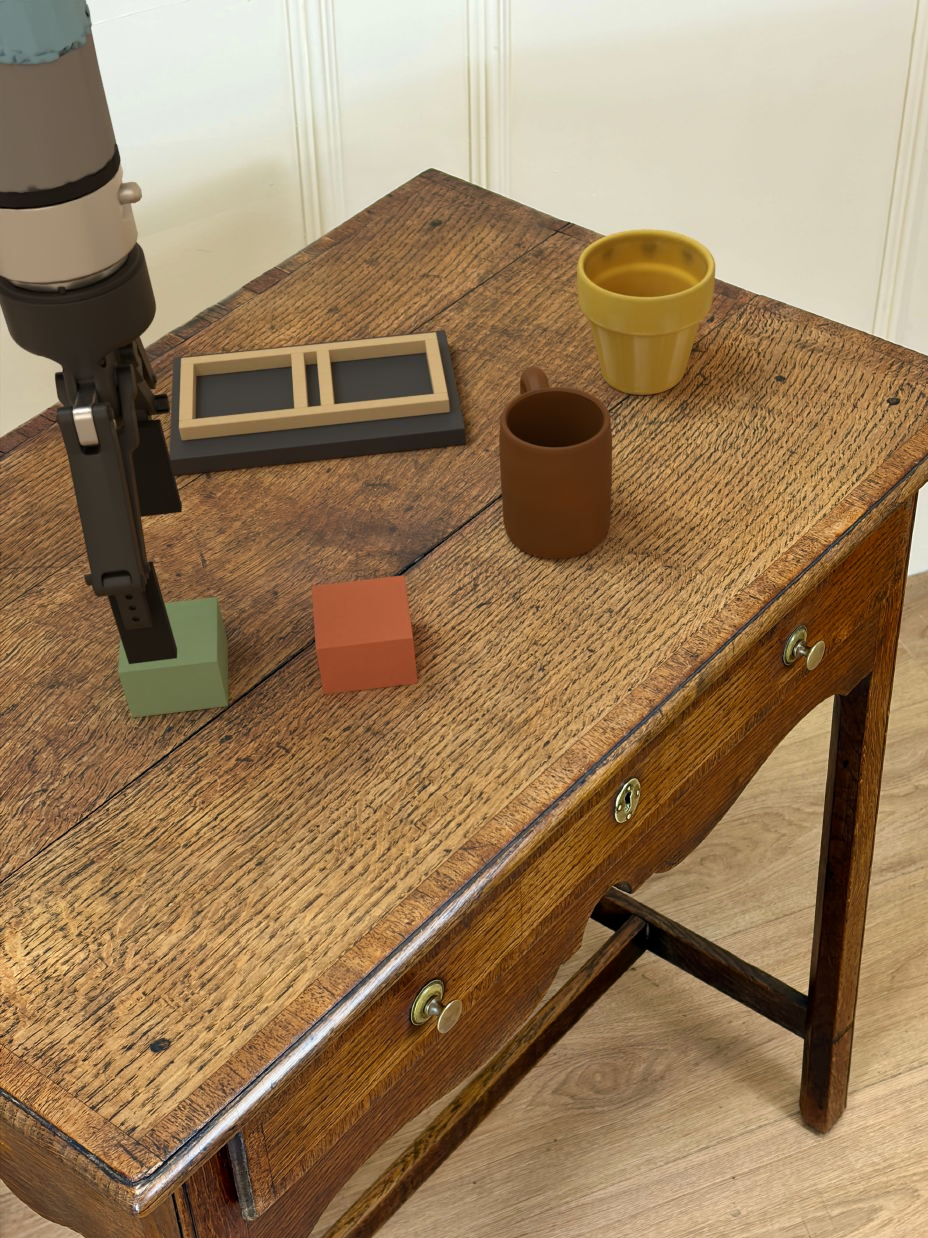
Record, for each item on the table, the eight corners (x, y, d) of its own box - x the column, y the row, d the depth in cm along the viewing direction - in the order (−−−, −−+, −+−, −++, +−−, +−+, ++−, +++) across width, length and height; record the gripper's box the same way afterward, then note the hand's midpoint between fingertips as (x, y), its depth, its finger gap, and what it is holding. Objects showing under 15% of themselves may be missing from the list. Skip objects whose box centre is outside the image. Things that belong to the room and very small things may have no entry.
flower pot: (645, 426, 113) (649, 313, 106) (550, 374, 118) (548, 262, 111) (734, 372, 118) (744, 260, 111) (640, 324, 123) (643, 214, 116)
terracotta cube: (323, 695, 94) (315, 649, 91) (319, 631, 98) (311, 585, 95) (418, 683, 94) (413, 637, 91) (409, 620, 98) (404, 574, 95)
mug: (481, 469, 110) (474, 359, 103) (581, 453, 111) (580, 344, 104) (515, 571, 101) (511, 458, 95) (623, 553, 102) (625, 441, 96)
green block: (132, 718, 93) (117, 672, 90) (135, 652, 97) (122, 607, 94) (228, 706, 93) (217, 660, 90) (228, 642, 97) (217, 596, 94)
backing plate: (173, 476, 110) (165, 446, 108) (176, 373, 120) (170, 344, 118) (466, 444, 112) (464, 414, 110) (446, 345, 122) (444, 316, 120)
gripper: (131, 384, 65) (219, 718, 80) (150, 139, 83) (219, 452, 98) (-43, 403, 65) (79, 736, 80) (13, 152, 82) (105, 465, 97)
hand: (157, 580), depth 89 cm, fingers open, 13 cm apart
